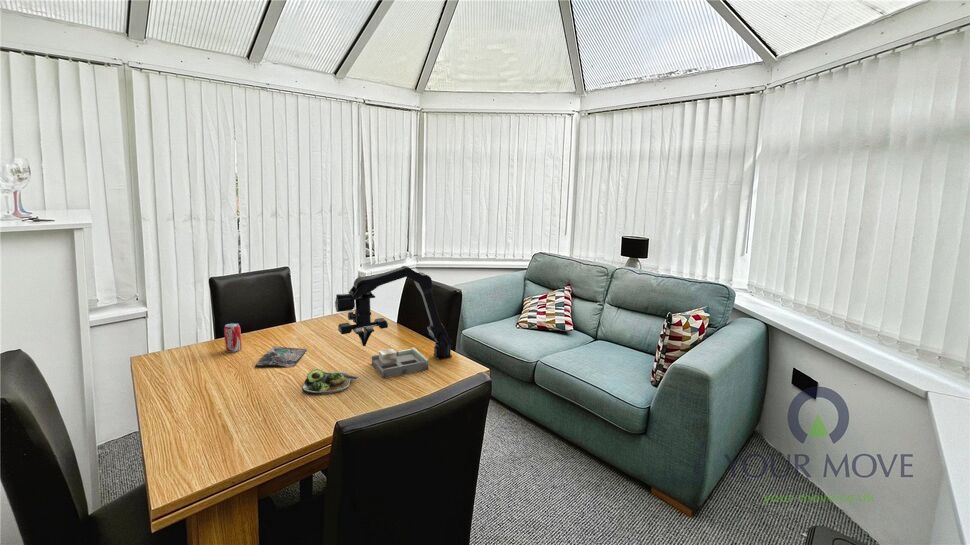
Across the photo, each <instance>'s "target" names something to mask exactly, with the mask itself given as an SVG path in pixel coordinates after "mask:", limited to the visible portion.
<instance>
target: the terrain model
mask: <svg viewBox="0 0 970 545" xmlns="http://www.w3.org/2000/svg"><path fill="white" fill-rule="evenodd" d="M307 351H308V349H307V348H301V347H300V348H299V347H284V346H275V345H274V346H272V347H271V348H270V349H269V351H267V352H266V353H265V354H264V355H262V356H261V357H260V359H259V360H258V361H257V362H256V364H255V366H254V367H255V368H256V367H257V368H265V369H266V368H294V367H295V366H296V365H297V364H298V363H299V361H300V360H301V359H302V358H303V356H304V355H305V354H306V353H307ZM305 352H306V353H305Z"/></svg>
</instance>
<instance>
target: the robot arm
mask: <svg viewBox="0 0 970 545" xmlns="http://www.w3.org/2000/svg"><path fill="white" fill-rule="evenodd" d="M403 278H409V279H411V280H412V281H413V282H414V284H415V286H416V288H417V289H418V291H419V292H420V294H421V298H422V299H423V300H422V301H423V303H424V306H425V310H426V313H427V316H428V319H429V325H428V326H427V327H426V328H427V329H426V330H428V335H429V336H430V337H431V338H432V339H433V340H434V341H435V344H434V347H433V349H434V350H433V356H434V357H435V358H437V359H438V360H444V359H449V358H453V355H452V354H451V352H452V351H451V349H452V345H453V342H454V341H453V339H451V337H449V335H448V332H447V330H446V328H445V326H444V325H443V323H442V322H441V319H440V316H439V315H440V314H439V312H438V309H437V306H436V302H435V298H434V295H433V281H432V280H433V279H432V278H431V276H430V275H428V274H426V273H425V272H419V271H418V272H417V271H415V270H413V269H412V268H411V267H409V266H408V265H402V266H401V267H398V268H395V269H392V270H388V271H386V272H383V273H380V274H377V275H367V276H359V277H357V278H356V279H355V280H354V282H353V286H352V287H351V288H350V290H349V291H348V293H343V294H341V293H340V294H339V293H338V294H335V296H336V297H335V301H334V307H335V312H336V313H342V312H347V320H348V321H352V322H353V323H354V324H350V323H349V322H344V323H339V324H338V326H337V328H338V330H337V331H338V332H339V333H340V334H341V335H348V334H351V333H352V331H353V332H354V334H356V335H358V338H359V340H360V342H361V345H362V346H363V347H366V345H367V343H368V340H369V338H370V337H371V335H372V334H373V333H374V332H375V329H374V327H378V328H380V329H381V330H382V329H388V328H389V322H388V321H387V320H386V319H385V318H383V317H381V318H380V317H379V318H375V319H374V321H372V320H371V319H372V318H371V316H372V312H371V299H375V298H376V296H375V294H373V291H374V290H375V289H377V288H378V287H381V286H383V285H386V284H389V283H392V282H395V281H399V280H401V279H403ZM354 308H355V310H354ZM353 310H354V312H353ZM348 311H349V312H348ZM350 311H351V312H350Z"/></svg>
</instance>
